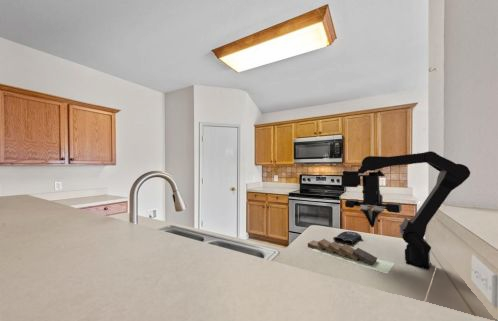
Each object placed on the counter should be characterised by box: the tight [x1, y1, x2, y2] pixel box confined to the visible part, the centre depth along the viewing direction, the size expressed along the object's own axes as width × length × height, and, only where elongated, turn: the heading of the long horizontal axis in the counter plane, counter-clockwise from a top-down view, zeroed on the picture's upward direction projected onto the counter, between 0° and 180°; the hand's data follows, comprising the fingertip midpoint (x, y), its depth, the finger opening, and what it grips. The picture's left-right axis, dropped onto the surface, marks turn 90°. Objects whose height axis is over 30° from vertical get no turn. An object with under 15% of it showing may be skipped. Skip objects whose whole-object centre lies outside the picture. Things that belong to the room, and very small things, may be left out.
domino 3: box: [328, 240, 347, 257], centre depth 85 cm, size 1×5×7 cm
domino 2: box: [318, 238, 335, 254], centre depth 89 cm, size 1×5×7 cm
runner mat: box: [311, 248, 395, 275], centre depth 82 cm, size 28×10×1 cm, turn 43°
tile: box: [352, 247, 378, 266], centre depth 78 cm, size 1×5×7 cm
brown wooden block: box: [339, 243, 359, 261], centre depth 82 cm, size 1×5×7 cm
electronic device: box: [332, 231, 362, 245], centre depth 101 cm, size 9×6×15 cm
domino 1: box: [307, 239, 324, 251], centre depth 93 cm, size 1×5×7 cm
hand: (372, 226), depth 82 cm, fingers closed
